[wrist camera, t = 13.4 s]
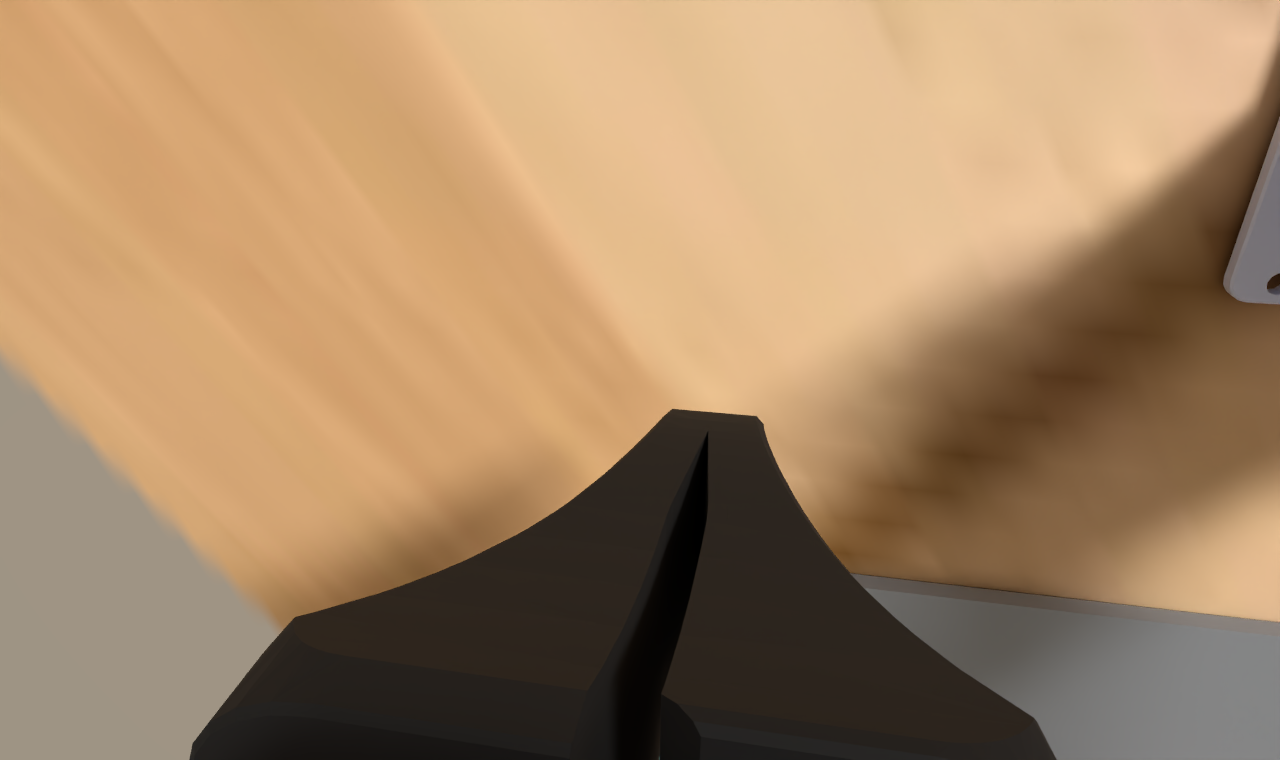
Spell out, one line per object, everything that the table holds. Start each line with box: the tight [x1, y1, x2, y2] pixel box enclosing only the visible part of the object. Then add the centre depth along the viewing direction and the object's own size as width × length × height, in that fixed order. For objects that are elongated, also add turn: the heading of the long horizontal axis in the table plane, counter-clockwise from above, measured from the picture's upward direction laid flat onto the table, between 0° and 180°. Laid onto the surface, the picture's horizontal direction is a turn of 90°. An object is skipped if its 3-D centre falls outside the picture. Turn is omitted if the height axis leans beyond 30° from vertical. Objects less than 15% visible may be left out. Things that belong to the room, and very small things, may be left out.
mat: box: [850, 573, 1280, 760], centre depth 26 cm, size 22×13×1 cm, turn 90°
